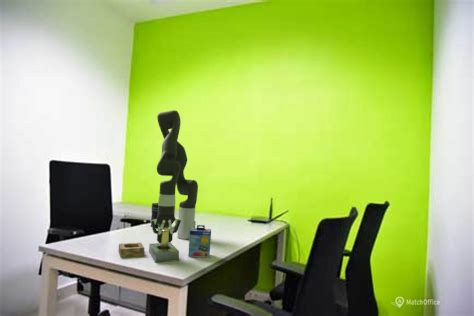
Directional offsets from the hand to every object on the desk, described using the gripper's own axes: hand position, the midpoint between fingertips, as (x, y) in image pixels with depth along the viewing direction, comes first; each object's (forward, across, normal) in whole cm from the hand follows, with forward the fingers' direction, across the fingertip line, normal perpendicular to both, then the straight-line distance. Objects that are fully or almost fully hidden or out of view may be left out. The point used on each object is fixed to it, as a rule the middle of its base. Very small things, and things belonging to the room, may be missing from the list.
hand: (164, 242), depth 142 cm
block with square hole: (+6, 0, 0) cm, 6 cm away
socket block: (+6, +13, -8) cm, 17 cm away
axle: (+5, 0, 0) cm, 5 cm away
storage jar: (+7, -11, -68) cm, 69 cm away
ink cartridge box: (+7, -16, +3) cm, 17 cm away
